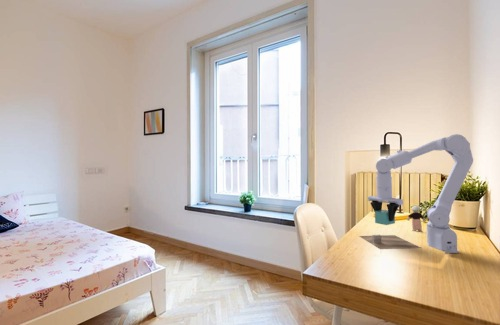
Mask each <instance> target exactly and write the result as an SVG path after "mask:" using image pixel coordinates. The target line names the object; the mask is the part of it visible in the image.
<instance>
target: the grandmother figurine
mask: <svg viewBox="0 0 500 325" xmlns="http://www.w3.org/2000/svg"><path fill="white" fill-rule="evenodd" d="M411 210H412V213H409V215H408V217H407V218H406V220H407V221H410V219H412V220H411V223H412V224H411V226H412V231H411V232H416V233H417V232H418V233H423V229H422V226H423V225H422V221H423V222H424V223H425V222H426V219H425V217H424V215H423V214H422V213H421V212H420V210H421V209H420V206H419V205H412V207H411Z"/></svg>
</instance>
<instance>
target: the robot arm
mask: <svg viewBox="0 0 500 325" xmlns="http://www.w3.org/2000/svg"><path fill="white" fill-rule="evenodd" d="M433 151H437V152H438V151H445V152H447V153H448V154H449V155H450V156H451V158H452V159H453V161H454V163H453V166H452V168H451V170H450V172H449V174H448V176H447V178H446V181H445V183H444V185H443V187H442V189H441V191H440V193H439V195H438V197H437V199H436V200H435V201H434V203H433V205H432V206H431V207H429V208H428V209H427V211H426V216H427V219H428V220H429V221H428V222H426V243H427V246H428V247H431V248H434V249H436V250H439V251H443V252H444V251H445V252H444V253H445V254H455V253H456V254H458V253H461V252H460V250H458V235H457V233H456V232H455V231H454V230H453V229H452V228H451V226H450V224H449V223H450V221H451V218H450V214H451V212H452V206H453V204H454V202H455V200H456V199H457V195H458V194H459V192H460V189H461V187H462V186H463V184H464V182H465V179H466V177H467V175H468V173H469V171H470V169H471V167H472V165H473V163H474V157H473V154H472V150H471V143H470V142H469V140H468V139H467V138H466V137H465V136H463V135H462V134H451V135H449V136H446V137H442V138H438V139H435V140H432V141H430V142H427V143H426V144H423V145H421V146H418V147H416V148H414V149H412V150H409V151H407V150H404V149H403V150H397V152H395V153H394V154H391V155H389V156H388V155H386V156H384V157H385V158H380V159H379V160H378V161H377V162H376V163H375V169H376V170H377V171H376V196H373V195H369V196H367V202H368V201H369V203H370V205H371V207H372V209H373V211H374V213H375V211H379V210H382V206H383V203H385V204H386V207H387V210H388V214H389V221H393V220H394V216H395V217H396V213H397V211H398V209H399V207H400V206H402V205H404V199H401V198H394V197H393V186H392V185H393V182H392V181H393V178H392V173H391V172H392V171H391V170H392V169H394V170H396V169H398V168H401V167H404V166H405V165H409V164H411V163H412V160H413V159H414V158H417V157H420V156H422V155H425V154H428V153H430V152H433Z"/></svg>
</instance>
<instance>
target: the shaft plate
mask: <svg viewBox="0 0 500 325" xmlns="http://www.w3.org/2000/svg"><path fill="white" fill-rule="evenodd" d="M359 237H360V238H361V239H363V240H364V241H366V242H368V243H369V244H371V245H372V246H374V247H376V248H377V249H379V250H400V249H404V250H405V249H422V247H421V246H419V245H416V244H414V243H412V242H410V241H409V240H406V239H404V238H401V237H400V236H397V235H395V234H385V235H384V234H383V235H381V234H372V235H359Z"/></svg>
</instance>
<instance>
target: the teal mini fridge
mask: <svg viewBox="0 0 500 325" xmlns="http://www.w3.org/2000/svg"><path fill="white" fill-rule="evenodd" d="M374 223H375V224H379V225H384V226H390V225H394V224H396V215H395V216H394V220H393V221H389V214H388V209H387V210H386V209H381V210H379V211H375V212H374Z"/></svg>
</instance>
